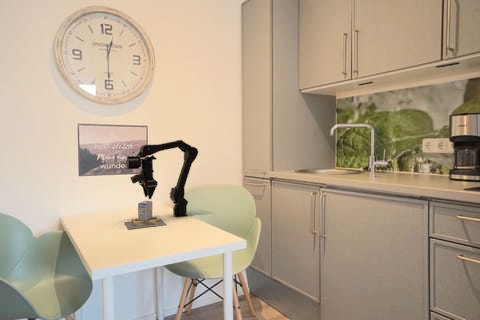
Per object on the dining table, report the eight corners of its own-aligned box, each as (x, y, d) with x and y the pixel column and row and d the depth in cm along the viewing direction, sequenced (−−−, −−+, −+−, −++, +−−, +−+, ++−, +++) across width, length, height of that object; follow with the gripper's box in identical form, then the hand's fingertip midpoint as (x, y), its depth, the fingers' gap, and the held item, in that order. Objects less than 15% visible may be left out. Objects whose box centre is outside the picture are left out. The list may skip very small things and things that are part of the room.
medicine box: (144, 217, 167) (143, 200, 167) (152, 217, 166) (152, 200, 166) (137, 220, 159) (137, 203, 159) (146, 221, 159) (146, 203, 158)
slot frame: (156, 220, 169) (156, 216, 169) (159, 223, 162) (159, 219, 162) (131, 222, 164) (131, 218, 164) (133, 226, 156) (133, 222, 156)
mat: (160, 219, 174) (160, 218, 174) (167, 226, 159) (167, 224, 159) (124, 223, 166) (124, 221, 166) (128, 229, 152) (128, 228, 152)
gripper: (128, 168, 177) (129, 197, 177) (134, 170, 160) (135, 201, 161) (149, 167, 182) (150, 195, 182) (157, 169, 165) (158, 199, 166)
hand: (148, 198), depth 173 cm, fingers open, 9 cm apart
